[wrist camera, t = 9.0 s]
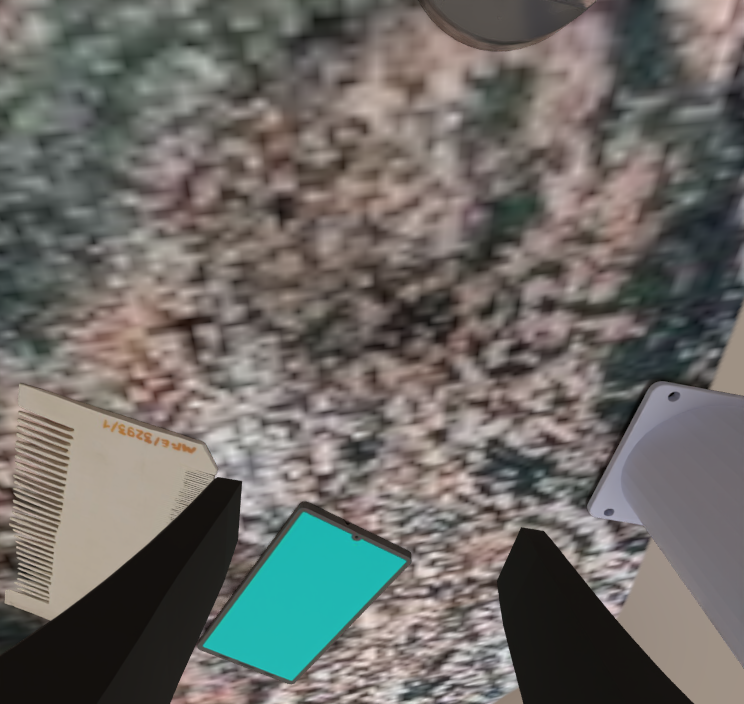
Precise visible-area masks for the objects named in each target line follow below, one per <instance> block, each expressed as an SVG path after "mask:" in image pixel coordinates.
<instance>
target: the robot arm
mask: <svg viewBox="0 0 744 704" xmlns="http://www.w3.org/2000/svg"><path fill="white" fill-rule="evenodd" d="M672 392H675V393H674V394H673V395H672V396H670V397H668V396H669V394H670V393H672ZM241 489H242V481H238V480H232V479H226V478H220V477H217V478H216V479H214V480H213V481H212V482H211V483H210V484H209V485H208V486H207V487H206V488H205V489H204V490H203V491H202V492H201V493H200V494H199V495H198V496H197V497H196V498H195V499H194V500H193V501H192V502H191V503H190V504H189V505H188V506H187V507H186V508H185V509H184V510H183V511H182V512H181V513H180V514H179V515H178V516H177V517H176V518H175V519H174V520H173V521H172V522H171V523H170V524H169V525H168V526H167V527H165V528H164V529H163V530H162V531H161V532H160V533H159V534H158V535H157V536H156V537H155V538H154V539H152V540H151V541H150V542H149V543H148V544H147V545H146V546H145V547H144V548H142V549H141V550H140V551H139V552H138V553H137V554H135V555H134V556H133V557H132V558H131V559H129V560H128V561H127V562H126V563H125V564H123V565H122V566H121V567H120V568H119V569H118V570H116V571H115V572H114V573H113V574H112V575H110V576H109V577H108V578H107V579H105V580H104V581H103V582H102V583H100V584H99V585H98V586H97V587H95V588H94V589H93V590H91V591H90V592H89V593H88V594H86V595H85V596H84V597H82V598H81V599H80V600H78V601H77V602H76V603H74V604H73V605H72V606H70V607H69V608H68V609H66V610H65V611H63V612H62V613H61V614H59V615H58V616H57V617H55V618H54V619H52V620H51V621H49V622H48V623H47V624H45V625H44V626H42V627H41V628H39V629H38V630H36V631H35V632H34V633H32V634H31V635H29V636H28V637H26V638H25V639H24V640H22V641H21V642H19V643H18V644H16V645H15V646H13V647H12V648H10V649H9V650H7V651H6V652H4V653H3V654H1V655H0V704H170V702H171V700H172V698H173V695H174V693H175V690H176V688H177V685H178V683H179V681H180V678H181V676H182V674H183V672H184V670H185V667H186V665H187V663H188V661H189V658H190V656H191V654H192V652H193V650H194V647H195V645H196V643H197V641H198V638H199V636H200V634H201V632H202V630H203V627H204V625H205V623H206V621H207V619H208V616H209V614H210V612H211V610H212V607H213V605H214V603H215V601H216V598H217V596H218V594H219V592H220V589H221V587H222V585H223V583H224V580H225V577H226V574H227V571H228V568H229V565H230V562H231V559H232V556H233V553H234V550H235V547H236V544H237V541H238V531H239V517H240V503H241ZM587 509H588V511H589V513H590V514H591V515H592V516H594V517H597V518H603V519H609V520H615V521H621V522H627V523H633V524H639V525H644V527H645V528H646V530H647V531H648V532H649V534H650V535H651V537H652V538H653V540H654V541H655V542H656V544H657V545H658V547H659V548H660V550H661V551H662V552H663V554H664V555H665V557H666V558H667V559H668V561H669V562H670V564H671V565H672V567H673V568H674V569H675V571H676V572H677V573H678V575H679V577H680V578H681V579H682V581H683V582H684V584H685V585H686V587H687V588H688V589H689V591H690V592H691V594H692V595H693V597H694V598H695V600H696V601H697V602H698V604H699V605H700V607H701V608H702V609H703V611H704V612H705V614H706V615H707V616H708V618H709V619H710V621H711V622H712V624H713V625H714V627H715V628H716V630H717V631H718V632H719V634H720V635H721V637H722V638H723V640H724V641H725V642H726V644H727V645H728V647H729V648H730V649H731V651H732V652H733V654H734V655H735V657H736V658H737V659H738V661H739V662H740V664H741V665H742V667H743V668H744V396H741V395H735V394H730V393H725V392H719V391H714V390H708V389H703V388H698V387H692V386H687V385H681V384H676V383H671V382H665V381H659V382H656V383H654V384H652V385H651V386H650V387H649V389H648V391H647V392H646V394H645V396H644V398H643V400H642V402H641V404H640V406H639V408H638V410H637V411H636V413H635V415H634V417H633V419H632V421H631V423H630V425H629V427H628V429H627V430H626V432H625V434H624V436H623V438H622V440H621V442H620V444H619V446H618V447H617V449H616V451H615V453H614V455H613V457H612V459H611V461H610V463H609V465H608V466H607V468H606V470H605V472H604V474H603V476H602V478H601V480H600V482H599V484H598V485H597V487H596V489H595V491H594V493H593V495H592V497H591V499H590V501H589V503H588V505H587ZM607 509H608V510H607ZM497 585H498V593H499V601H500V608H501V614H502V621H503V626H504V630H505V634H506V638H507V642H508V646H509V650H510V654H511V658H512V662H513V666H514V670H515V673H516V677H517V681H518V685H519V689H520V692H521V696H522V700H523V704H694V703H693V702H691V700H690V699H689V698H688V697H687V696H686V695H685V694H684V693H683V692H682V691H681V690H680V689H679V688H678V687H677V686H676V685H675V684H674V683H673V682H672V681H671V680H670V679H669V678H668V677H667V676H666V675H665V674H664V673H663V672H662V671H661V670H660V668H659V667H658V666H657V665H656V664H655V663H654V662H653V661H652V660H651V659H650V657H649V656H648V655H647V654H646V653H645V652H644V651H643V650H642V648H641V647H640V646H639V645H638V644H637V643H636V642H635V641H634V640H633V639H632V637H631V636H630V635H629V634H628V633H627V632H626V630H625V629H624V628H623V627H622V626H621V625H620V623H619V622H618V621H617V620H616V619H615V618H614V616H613V615H612V614H611V613H610V612H609V610H608V609H607V608H606V607H605V606H604V604H603V603H602V602H601V601H600V600H599V598H598V597H597V596H596V595H595V593H594V592H593V591H592V590H591V589H590V587H589V586H588V585H587V584H586V582H585V581H584V580H583V579H582V577H581V576H580V575H579V574H578V572H577V571H576V570H575V569H574V567H573V566H572V565H571V564H570V562H569V561H568V560H567V559H566V557H565V556H564V555H563V554H562V552H561V551H560V550H559V549H558V547H557V546H556V545H555V544H554V542H553V541H552V540H551V539H550V538H549V536H548V535H547V534H546V533H545V532H544V531H540V530H534V529H528V528H522V527H521V529H520V531H519V533H518V536H517V538H516V540H515V542H514V544H513V547H512V549H511V551H510V553H509V555H508V558H507V560H506V562H505V564H504V566H503V569H502V571H501V573H500V575H499V578H498V580H497Z"/></svg>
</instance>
